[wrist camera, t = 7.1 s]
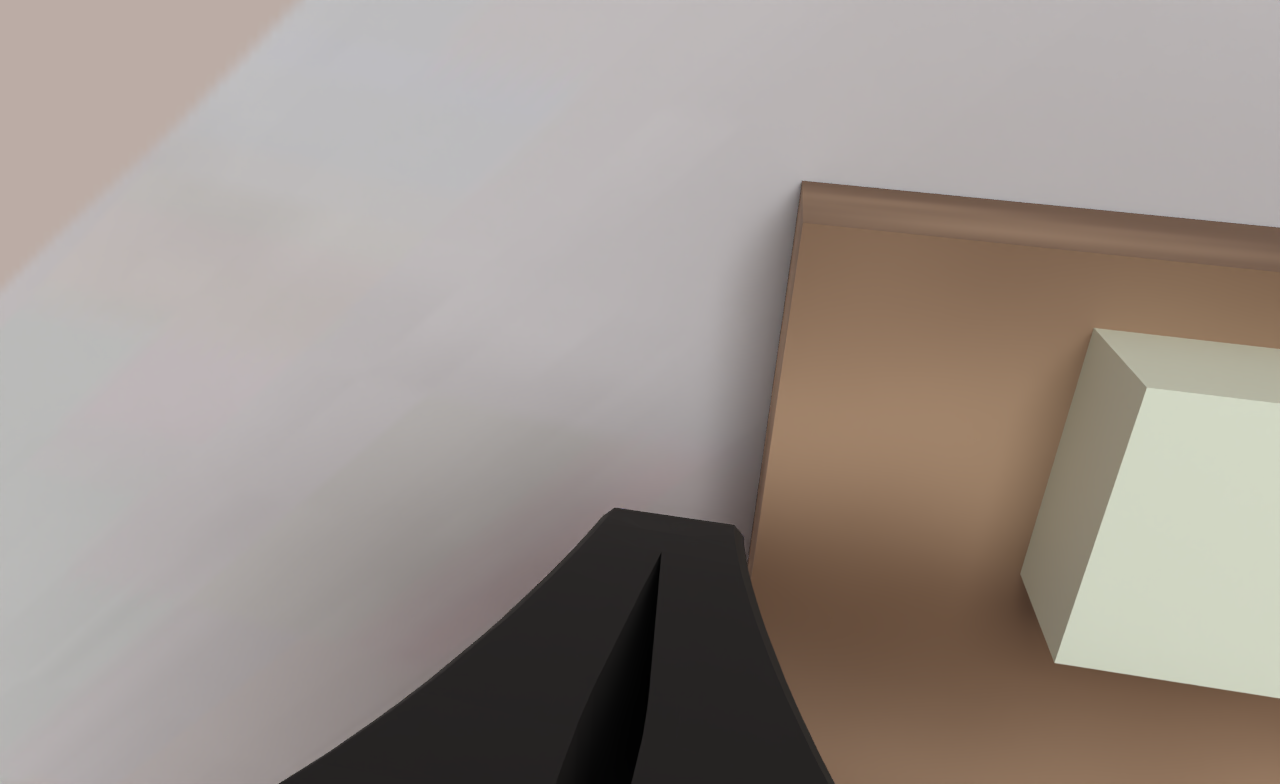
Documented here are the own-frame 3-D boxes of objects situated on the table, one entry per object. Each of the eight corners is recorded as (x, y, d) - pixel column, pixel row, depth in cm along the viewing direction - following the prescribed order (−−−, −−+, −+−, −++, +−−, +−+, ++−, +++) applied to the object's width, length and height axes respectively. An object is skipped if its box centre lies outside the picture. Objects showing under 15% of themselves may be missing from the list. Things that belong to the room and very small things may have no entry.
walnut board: (1289, 861, 19) (1373, 1008, 16) (719, 759, 20) (707, 878, 17) (1615, 260, 13) (1826, 329, 10) (802, 180, 15) (803, 222, 12)
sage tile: (1301, 615, 13) (1382, 714, 11) (1020, 573, 13) (1055, 663, 12) (1420, 364, 11) (1538, 434, 10) (1094, 327, 12) (1147, 387, 10)
